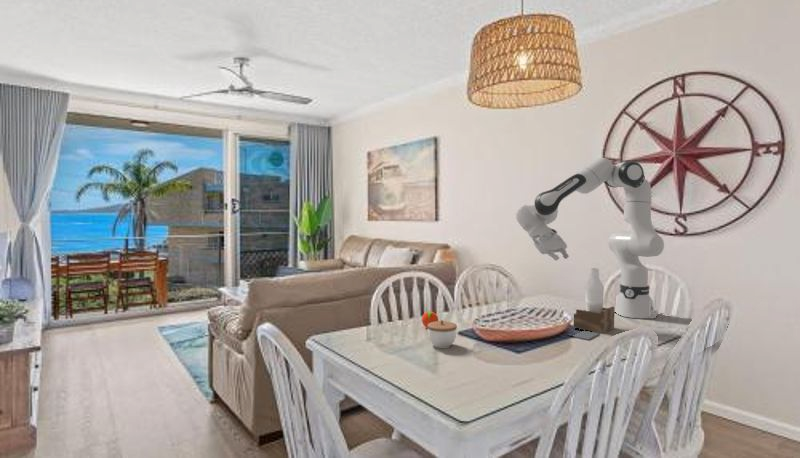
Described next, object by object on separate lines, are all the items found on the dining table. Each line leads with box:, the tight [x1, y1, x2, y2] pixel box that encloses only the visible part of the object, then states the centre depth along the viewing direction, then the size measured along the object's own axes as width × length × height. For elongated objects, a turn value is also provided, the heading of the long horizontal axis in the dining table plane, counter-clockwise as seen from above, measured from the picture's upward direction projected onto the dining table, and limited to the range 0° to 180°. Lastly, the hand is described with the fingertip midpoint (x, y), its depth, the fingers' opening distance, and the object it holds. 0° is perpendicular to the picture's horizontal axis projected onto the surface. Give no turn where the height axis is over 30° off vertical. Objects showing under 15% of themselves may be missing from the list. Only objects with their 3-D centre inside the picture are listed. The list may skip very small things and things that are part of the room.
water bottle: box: [584, 268, 605, 313], centre depth 188 cm, size 7×7×25 cm
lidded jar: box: [426, 319, 458, 349], centre depth 165 cm, size 11×11×9 cm
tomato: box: [421, 311, 439, 329], centre depth 190 cm, size 8×7×7 cm
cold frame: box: [573, 306, 616, 335], centre depth 189 cm, size 12×12×9 cm
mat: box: [573, 330, 601, 341], centre depth 179 cm, size 11×11×1 cm
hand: (562, 258), depth 198 cm, fingers open, 8 cm apart
